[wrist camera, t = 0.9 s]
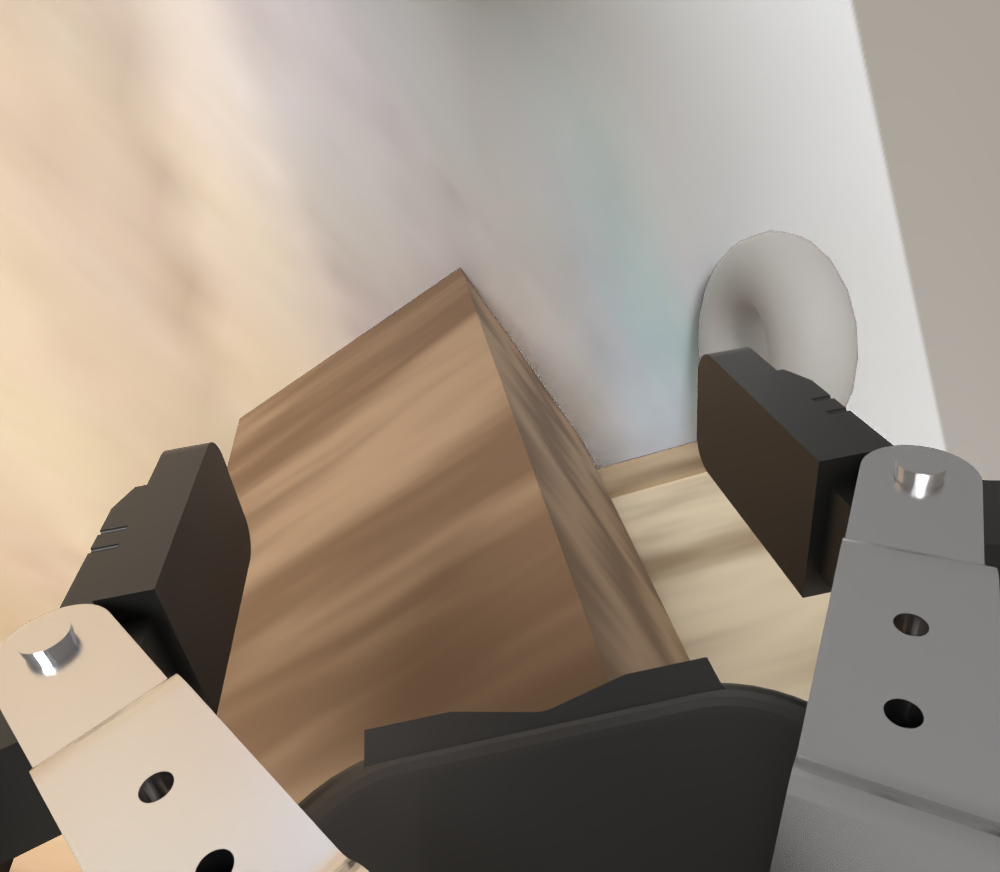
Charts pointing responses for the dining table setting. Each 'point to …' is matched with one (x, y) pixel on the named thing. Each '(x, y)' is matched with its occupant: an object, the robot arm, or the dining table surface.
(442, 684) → the cream-topped wooden box
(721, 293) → the donut
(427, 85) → the dining table surface
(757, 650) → the wooden block
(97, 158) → the dining table surface
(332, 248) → the dining table surface
